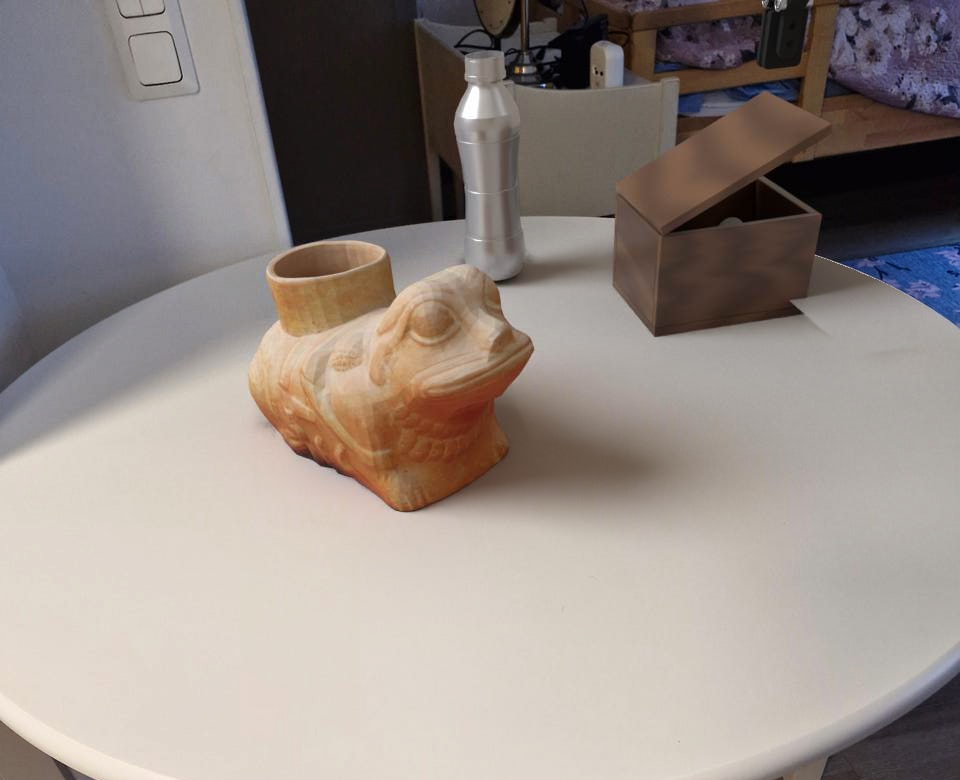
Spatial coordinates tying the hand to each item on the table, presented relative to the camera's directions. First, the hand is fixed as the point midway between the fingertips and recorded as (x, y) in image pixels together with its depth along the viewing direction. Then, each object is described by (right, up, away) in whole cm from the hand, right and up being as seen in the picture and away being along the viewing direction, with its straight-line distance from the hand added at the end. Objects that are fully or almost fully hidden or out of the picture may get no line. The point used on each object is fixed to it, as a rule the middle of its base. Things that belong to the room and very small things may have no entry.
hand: (777, 65), depth 75 cm
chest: (-3, -15, +13) cm, 20 cm away
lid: (-4, -6, +4) cm, 8 cm away
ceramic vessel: (-32, -33, -4) cm, 46 cm away
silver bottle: (-23, -10, +20) cm, 32 cm away
